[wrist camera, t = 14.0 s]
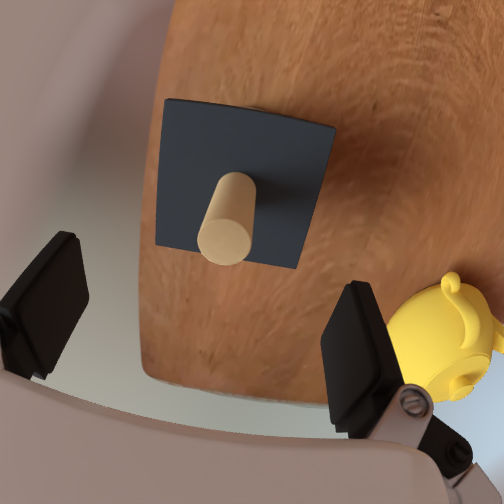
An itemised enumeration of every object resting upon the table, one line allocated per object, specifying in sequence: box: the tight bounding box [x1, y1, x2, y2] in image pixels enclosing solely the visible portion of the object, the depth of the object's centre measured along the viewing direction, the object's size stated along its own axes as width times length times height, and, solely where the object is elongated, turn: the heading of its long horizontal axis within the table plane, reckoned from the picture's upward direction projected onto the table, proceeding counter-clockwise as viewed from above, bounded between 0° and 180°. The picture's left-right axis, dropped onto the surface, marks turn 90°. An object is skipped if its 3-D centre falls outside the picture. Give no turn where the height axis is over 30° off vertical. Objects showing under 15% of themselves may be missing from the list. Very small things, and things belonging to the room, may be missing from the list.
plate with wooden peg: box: [155, 98, 336, 269], centre depth 17 cm, size 10×10×7 cm
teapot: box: [386, 272, 504, 403], centre depth 32 cm, size 20×19×13 cm
